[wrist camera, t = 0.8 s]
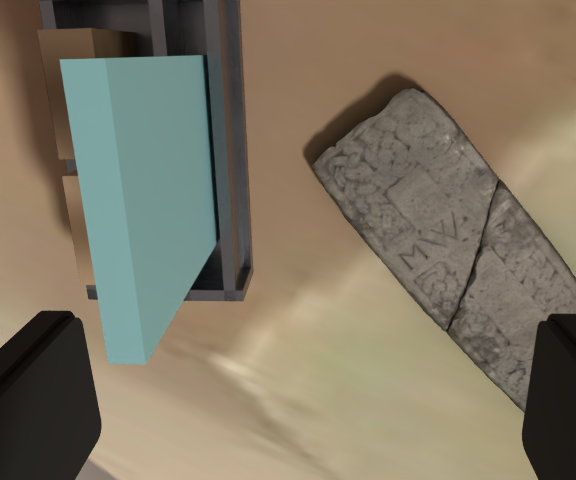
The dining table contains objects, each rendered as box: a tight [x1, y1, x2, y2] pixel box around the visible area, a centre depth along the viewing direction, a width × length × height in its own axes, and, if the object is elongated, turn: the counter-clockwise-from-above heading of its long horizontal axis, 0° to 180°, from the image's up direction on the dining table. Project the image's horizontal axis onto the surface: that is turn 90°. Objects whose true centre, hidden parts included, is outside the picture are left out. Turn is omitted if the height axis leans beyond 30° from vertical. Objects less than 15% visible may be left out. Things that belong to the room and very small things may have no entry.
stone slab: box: [312, 88, 576, 413], centre depth 39 cm, size 10×3×30 cm
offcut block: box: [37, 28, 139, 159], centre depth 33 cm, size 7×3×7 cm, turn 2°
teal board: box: [59, 55, 220, 364], centre depth 28 cm, size 12×2×18 cm, turn 2°
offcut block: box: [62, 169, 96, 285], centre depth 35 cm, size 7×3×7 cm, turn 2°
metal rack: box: [39, 0, 253, 301], centre depth 36 cm, size 20×11×5 cm, turn 1°
